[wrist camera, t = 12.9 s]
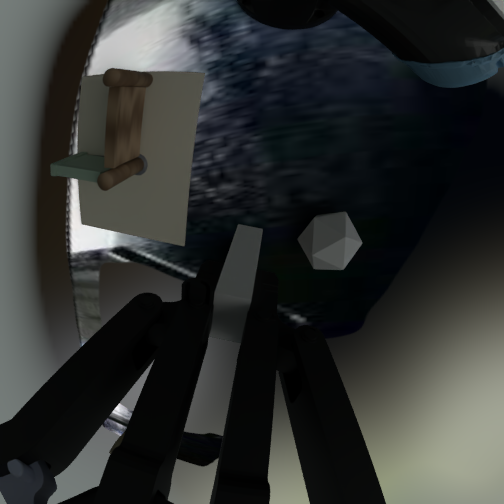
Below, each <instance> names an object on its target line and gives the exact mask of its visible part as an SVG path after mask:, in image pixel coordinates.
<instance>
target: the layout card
mask: <svg viewBox="0 0 504 504" xmlns="http://www.w3.org/2000/svg"><path fill="white" fill-rule="evenodd" d="M145 73H150V74H151V75H152V77H153V82H152V84H151V85H150V86H149V87H146V92H145V100H144V109H143V118H142V128H141V141H140V156H138V157H139V158H141V159H142V160H143V162H144V168H143V170H142V171H140V172H138V173H136V174H135V175H133V176H131V177H129V178H128V179H126V180H124V181H122V182H121V183H119V184H117V185H116V186H114V187H112V188H111V189H109V190H107V191H103V190H101V189H100V188H99V186H98V184H97V183H96V182H90V181H85V180H80V179H78V185H79V200H80V212H81V222H82V224H83V225H88V226H92V227H97V228H102V229H106V230H111V231H115V232H120V233H125V234H129V235H134V236H138V237H143V238H148V239H153V240H157V241H162V242H167V243H171V244H176V245H181V246H185V235H186V221H187V208H188V197H189V186H190V176H191V167H192V158H193V150H194V142H195V134H196V127H197V120H198V113H199V106H200V100H201V94H202V88H203V82H204V76H205V73H194V72H145ZM103 75H104V74H101V75H92V76H84V77H82V84H81V93H80V104H79V119H78V153H80V152H87V155H94V156H101V157H104V155H105V129H106V115H107V103H108V94H109V87H107V86H105V85H104V84H103Z"/></svg>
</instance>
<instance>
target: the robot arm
mask: <svg viewBox="0 0 504 504" xmlns="http://www.w3.org/2000/svg"><path fill="white" fill-rule="evenodd" d="M237 2H238V4H239V5H240V7H241V8H242V9H243V10H244V11H245V12H246V13H247V14H248V15H249V16H250V17H252V18H253V19H255V20H257V21H259V22H261V23H263V24H265V25H268V26H272V27H275V28H281V29H292V30H293V29H306V28H310V27H314V26H317V25H320V24H322V23H324V22H326V21H327V20H329V19H330V18H331V17H332V16H333V15H334V14H335V13H336V12H337V11H340V12H341V13H343V14H344V15H346V16H347V17H348V18H350V19H351V20H353V21H354V22H355V23H357V24H358V25H360V26H361V27H362V28H364V29H365V30H366V31H367V32H369V33H370V34H371V35H373V36H374V37H375V38H376V39H377V40H379V41H380V42H381V43H382V44H383V45H385V46H386V47H387V48H388V49H389V50H390V51H392V54H393V55H394V56H395V57H396V58H397V59H398V60H399V61H401V62H403V63H405V64H406V65H407V66H408V67H410V68H411V69H412V70H413V71H414V72H415V73H416V74H417V75H418V76H419V77H420V78H421V79H423V80H424V81H426V82H428V83H431V84H433V85H436V86H439V87H448V88H452V87H462V86H467V85H471V84H475V83H477V82H480V81H483V80H485V79H487V78H489V77H491V76H493V75H494V74H496V73H497V72H498V68H499V67H504V0H237ZM262 232H263V229H259V228H254V227H250V226H245V225H240V224H238V227H237V229H236V232H235V235H234V238H233V241H232V243H231V246H230V249H229V252H228V255H227V258H226V261H225V263H220V262H215V261H210V260H207V261H206V262H205V263H203V264H202V265H201V267H200V269H199V272H198V273H197V276H196V278H190V279H188V280H185V281H184V282H183V284H182V299H181V300H180V301H177V302H162V300H161V298H160V297H159V296H157V295H156V294H153V293H142V294H139V295H137V296H136V297H134V298H133V299H132V300H131V301H130V302H129V303H128V304H127V305H125V306H124V307H123V308H122V309H121V310H120V311H119V312H118V313H117V314H116V315H115V316H114V317H112V318H111V319H110V320H109V321H108V322H107V323H106V324H105V325H104V326H103V327H102V328H101V329H100V330H99V331H98V332H96V333H95V334H94V335H93V336H92V337H91V338H90V339H89V340H88V341H87V342H86V343H85V344H84V345H83V346H82V347H81V348H80V349H79V350H78V351H77V352H76V353H75V354H74V355H73V356H72V357H71V358H70V359H69V360H68V361H67V362H66V363H65V364H64V365H63V366H62V367H61V368H60V369H59V370H58V371H57V372H56V373H55V374H54V375H53V376H52V377H51V378H50V379H49V380H48V381H47V382H46V383H45V384H44V385H43V386H42V387H41V388H40V389H39V391H37V392H36V393H35V395H34V396H33V397H32V398H31V399H30V400H29V401H28V402H27V403H26V404H25V405H24V406H23V408H21V410H20V411H19V412H18V413H17V414H16V415H15V416H14V417H13V418H12V419H11V420H9V421H7V422H5V423H3V424H1V425H0V491H1V493H2V495H3V497H4V499H5V501H6V503H7V504H47V501H48V499H49V497H50V496H51V495H52V494H53V493H54V492H55V491H56V489H57V485H56V482H55V478H54V477H55V476H57V475H58V474H60V473H61V472H62V471H64V470H65V469H66V468H67V467H68V466H69V465H70V464H71V463H72V461H74V459H75V458H76V457H77V456H78V454H79V453H80V452H81V451H82V449H83V448H84V447H85V445H86V444H87V443H88V442H89V440H90V439H91V438H92V437H93V435H94V434H95V433H96V432H97V430H98V429H99V428H100V427H101V425H102V424H103V423H104V422H105V420H106V419H107V418H108V417H109V415H110V414H111V413H112V411H113V410H114V409H115V408H116V406H117V405H118V404H119V403H120V401H121V400H122V399H123V398H124V396H125V395H126V394H127V393H128V391H129V390H130V389H131V388H132V386H133V385H134V384H135V382H136V381H137V380H138V379H139V378H140V376H141V375H142V374H143V373H144V371H145V370H146V369H147V368H148V366H149V365H150V364H151V363H152V362H153V360H154V359H155V360H154V362H153V365H152V367H151V369H150V372H149V374H148V376H147V379H146V381H145V384H144V386H143V388H142V391H141V394H140V396H139V398H138V401H137V403H136V406H135V408H134V411H133V413H132V416H131V418H130V421H129V424H128V426H127V429H126V431H125V434H124V437H123V439H122V442H121V444H120V445H119V446H118V447H116V448H115V449H114V450H113V451H112V452H111V455H110V457H109V459H108V462H107V464H106V467H105V470H104V473H103V476H102V479H101V481H100V484H99V486H97V487H94V488H92V489H90V490H87V491H85V492H83V493H81V494H79V495H77V496H74V497H72V498H70V499H68V500H65V501H63V502H60V503H58V504H174V503H172V502H170V501H168V496H169V492H170V487H171V478H172V473H173V469H174V465H175V462H176V458H177V454H178V450H179V447H180V443H181V439H182V435H183V432H184V428H185V424H186V421H187V417H188V413H189V410H190V406H191V402H192V399H193V395H194V391H195V388H196V384H197V381H198V377H199V374H200V370H201V366H202V363H203V359H204V356H205V353H206V349H207V345H208V338H209V334H210V337H214V338H219V339H223V340H228V341H232V342H237V343H241V345H240V349H239V354H238V358H237V365H236V370H235V376H234V381H233V387H232V392H231V397H230V402H229V408H228V414H227V418H226V424H225V429H224V435H223V439H222V445H221V450H220V455H219V460H218V466H217V471H216V476H215V481H214V486H213V490H212V495H211V499H210V504H269V501H270V485H269V483H268V467H269V455H270V445H271V433H272V421H273V408H274V394H275V380H276V370H278V371H279V377H280V381H281V385H282V389H283V393H284V397H285V402H286V406H287V410H288V414H289V418H290V423H291V427H292V431H293V435H294V439H295V443H296V448H297V452H298V456H299V460H300V464H301V469H302V473H303V477H304V481H305V485H306V489H307V493H308V497H309V501H310V504H386V502H385V499H384V496H383V493H382V490H381V487H380V484H379V481H378V478H377V475H376V472H375V469H374V466H373V464H372V460H371V458H370V455H369V452H368V449H367V446H366V443H365V441H364V438H363V435H362V433H361V430H360V427H359V424H358V422H357V419H356V416H355V414H354V411H353V408H352V406H351V403H350V400H349V398H348V395H347V393H346V390H345V387H344V385H343V382H342V380H341V377H340V375H339V372H338V369H337V367H336V365H335V362H334V359H333V357H332V355H331V352H330V350H329V347H328V345H327V342H326V340H325V337H324V335H323V334H322V332H321V331H320V330H318V329H317V328H315V327H313V326H308V325H303V326H299V327H298V328H296V329H294V328H292V327H289V326H287V325H285V324H284V323H283V322H282V321H281V320H280V319H279V318H278V315H277V298H278V278H277V276H276V275H275V273H272V272H267V271H262V270H257V263H258V257H259V251H260V244H261V238H262Z"/></svg>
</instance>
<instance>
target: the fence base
mask: <svg viewBox="0 0 504 504" xmlns="http://www.w3.org/2000/svg"><path fill="white" fill-rule="evenodd" d="M152 82H153V77H152V75H151V74H150V73H145V72H139V71H131V70H124V69H115V68H111V69H108V70H107V71H106V72H105V73H104V75H103V84H104V85H105V86H107V87H109V94H108V103H107V115H106V129H105V155H104V168H112V169H110V170H108V171H106V172H104V173H102V174H100V175H99V176H98V179H97V184H98V186H99V188H100V189H101V190H103V191H107V190H109V189H111V188H112V187H114V186H116V185H117V184H119V183H121V182H122V181H124V180H126V179H128V178H129V177H131V176H133V175H135V174H136V173H138V172H140V171H142V170H143V168H144V162H143V160H142V159H141V158H139V157H138V156H140V141H141V128H142V118H143V109H144V100H145V92H146V87H149V86H150V85H151V84H152Z"/></svg>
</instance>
